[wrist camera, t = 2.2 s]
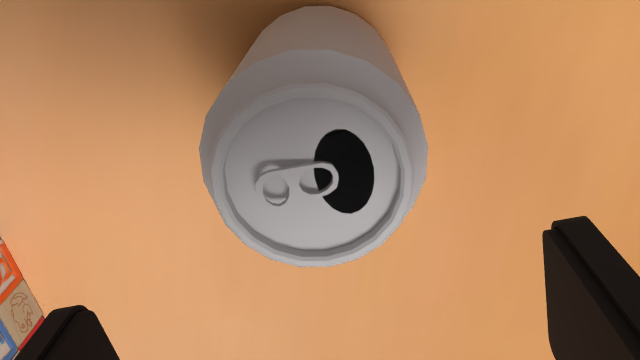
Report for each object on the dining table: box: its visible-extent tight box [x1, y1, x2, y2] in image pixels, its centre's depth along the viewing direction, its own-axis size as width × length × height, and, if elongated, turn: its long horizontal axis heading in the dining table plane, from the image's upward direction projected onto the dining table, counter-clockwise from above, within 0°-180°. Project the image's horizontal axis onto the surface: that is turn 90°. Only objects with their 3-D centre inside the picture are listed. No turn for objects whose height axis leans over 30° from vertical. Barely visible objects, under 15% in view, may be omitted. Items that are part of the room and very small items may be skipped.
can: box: [199, 6, 428, 267], centre depth 21 cm, size 8×8×12 cm
